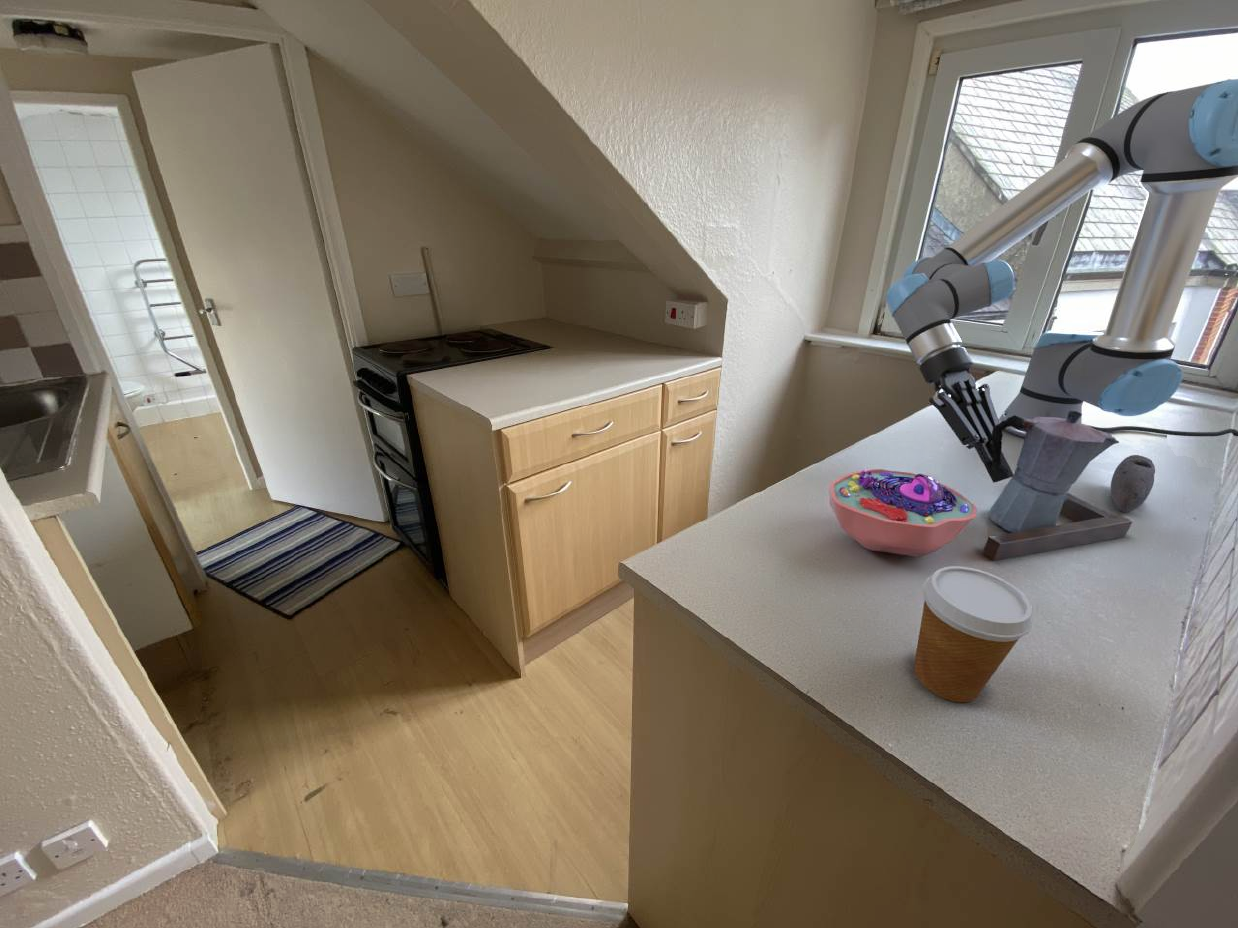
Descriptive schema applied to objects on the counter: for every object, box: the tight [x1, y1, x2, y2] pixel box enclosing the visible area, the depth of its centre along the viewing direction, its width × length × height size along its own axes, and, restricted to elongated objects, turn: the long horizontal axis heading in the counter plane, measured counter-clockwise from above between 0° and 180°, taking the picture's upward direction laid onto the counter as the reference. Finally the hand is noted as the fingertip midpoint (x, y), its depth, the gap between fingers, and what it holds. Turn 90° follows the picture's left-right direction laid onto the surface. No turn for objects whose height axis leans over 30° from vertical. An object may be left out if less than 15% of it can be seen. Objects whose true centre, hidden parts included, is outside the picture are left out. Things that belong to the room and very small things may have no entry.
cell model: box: [828, 468, 978, 557], centre depth 79 cm, size 17×20×11 cm
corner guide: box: [981, 492, 1133, 562], centre depth 87 cm, size 26×17×3 cm, turn 105°
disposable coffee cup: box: [913, 565, 1034, 703], centre depth 55 cm, size 10×10×12 cm
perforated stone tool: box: [1110, 454, 1156, 513], centre depth 92 cm, size 15×5×7 cm, turn 135°
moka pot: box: [987, 411, 1120, 533], centre depth 82 cm, size 10×15×20 cm, turn 72°
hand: (1003, 479), depth 88 cm, fingers closed
